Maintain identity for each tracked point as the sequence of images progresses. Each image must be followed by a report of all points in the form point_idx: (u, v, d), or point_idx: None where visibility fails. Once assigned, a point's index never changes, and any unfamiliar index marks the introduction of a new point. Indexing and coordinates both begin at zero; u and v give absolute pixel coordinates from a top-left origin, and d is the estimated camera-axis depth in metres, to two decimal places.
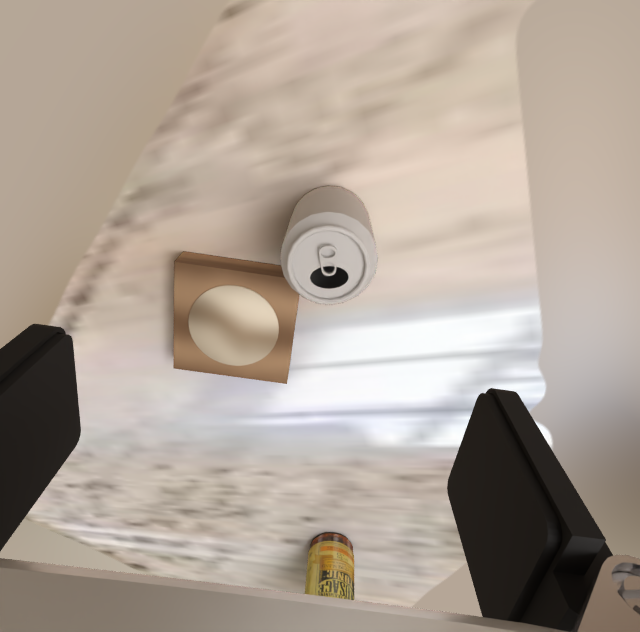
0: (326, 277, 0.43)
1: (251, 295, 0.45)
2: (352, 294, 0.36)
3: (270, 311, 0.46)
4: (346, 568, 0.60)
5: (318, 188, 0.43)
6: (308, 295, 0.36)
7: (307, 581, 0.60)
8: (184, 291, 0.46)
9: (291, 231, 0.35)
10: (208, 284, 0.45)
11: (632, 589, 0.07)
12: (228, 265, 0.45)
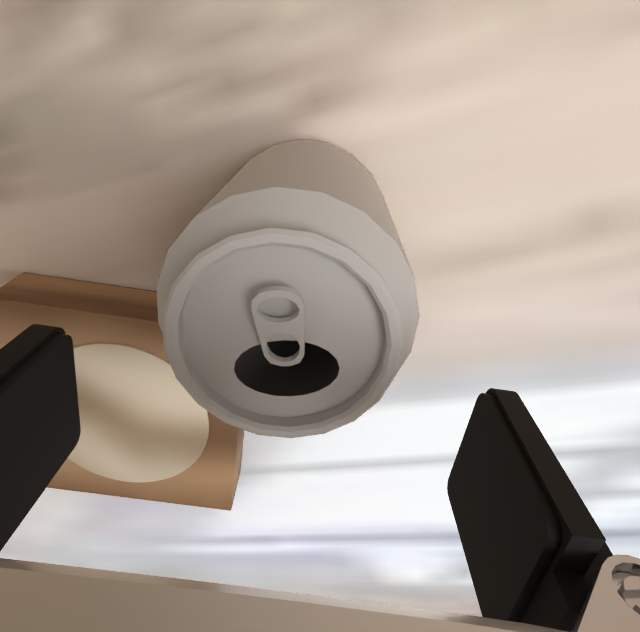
0: None
1: (149, 363, 0.23)
2: (349, 415, 0.13)
3: None
4: None
5: (278, 144, 0.20)
6: (230, 416, 0.13)
7: None
8: None
9: (177, 243, 0.12)
10: None
11: (632, 589, 0.06)
12: (102, 303, 0.23)
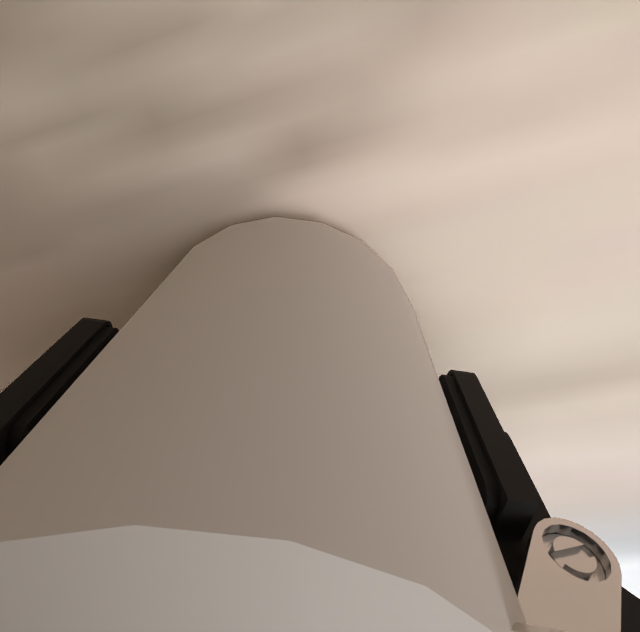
0: None
1: None
2: None
3: None
4: None
5: (237, 226, 0.12)
6: None
7: None
8: None
9: None
10: None
11: (561, 549, 0.07)
12: None
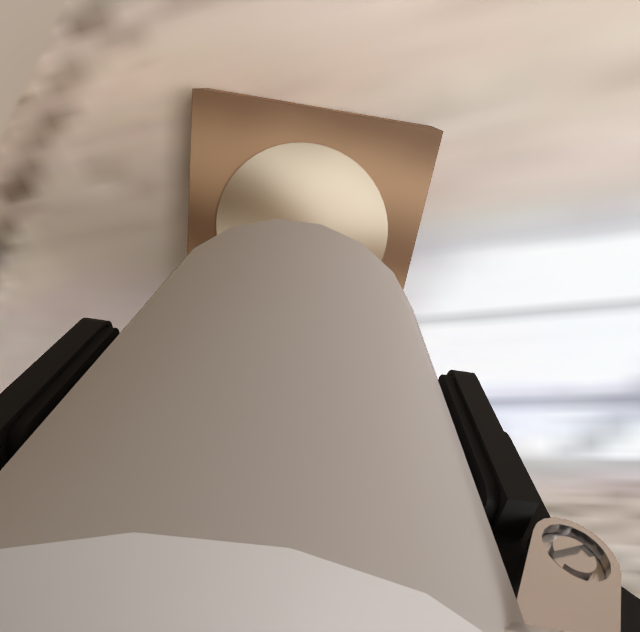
0: None
1: (342, 164, 0.23)
2: None
3: (376, 200, 0.24)
4: None
5: (237, 228, 0.12)
6: None
7: None
8: (211, 156, 0.23)
9: None
10: (259, 141, 0.23)
11: (560, 549, 0.07)
12: (297, 105, 0.23)
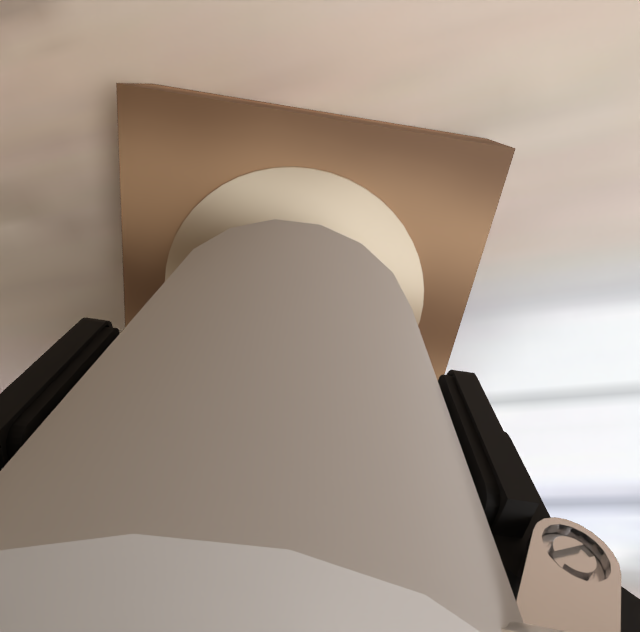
0: None
1: (355, 200, 0.15)
2: None
3: (407, 253, 0.16)
4: None
5: (237, 229, 0.12)
6: None
7: None
8: (152, 189, 0.15)
9: None
10: (225, 165, 0.15)
11: (561, 549, 0.07)
12: (285, 109, 0.15)
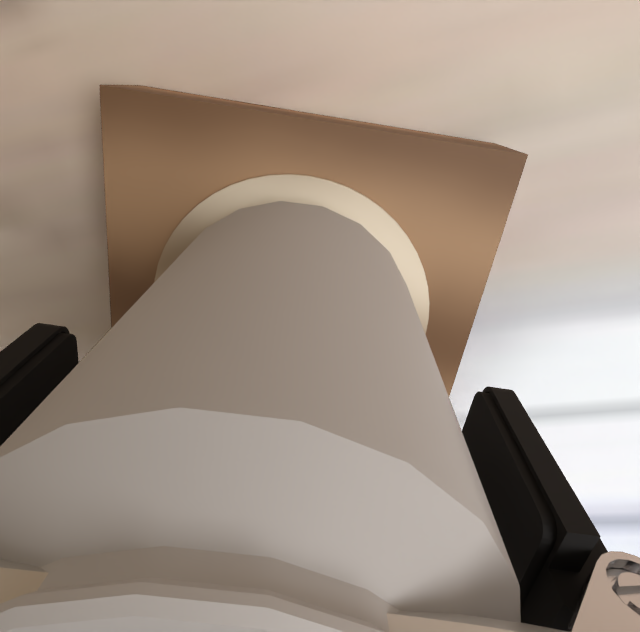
0: None
1: (356, 209, 0.14)
2: None
3: (411, 265, 0.15)
4: None
5: (245, 209, 0.13)
6: None
7: None
8: (139, 198, 0.14)
9: None
10: (217, 172, 0.14)
11: (626, 585, 0.07)
12: (281, 112, 0.14)
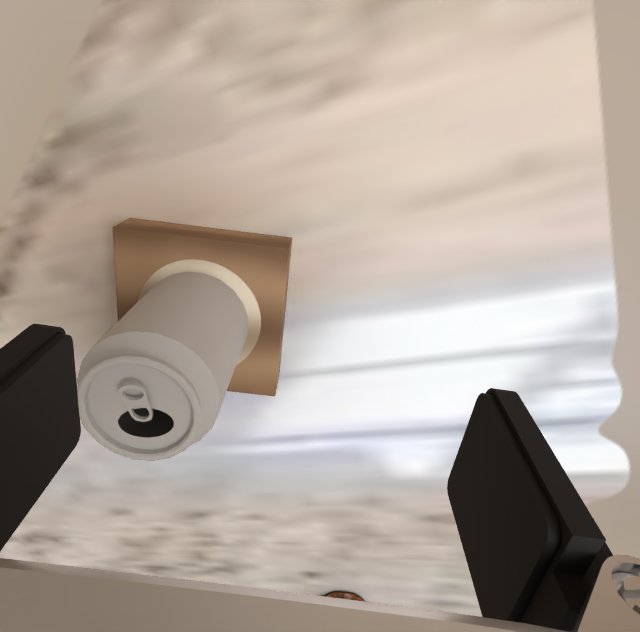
0: None
1: (221, 272, 0.33)
2: (180, 447, 0.24)
3: (248, 295, 0.34)
4: None
5: (171, 275, 0.32)
6: (117, 449, 0.24)
7: None
8: (129, 270, 0.33)
9: (86, 358, 0.24)
10: (162, 259, 0.33)
11: (632, 589, 0.07)
12: (188, 232, 0.33)
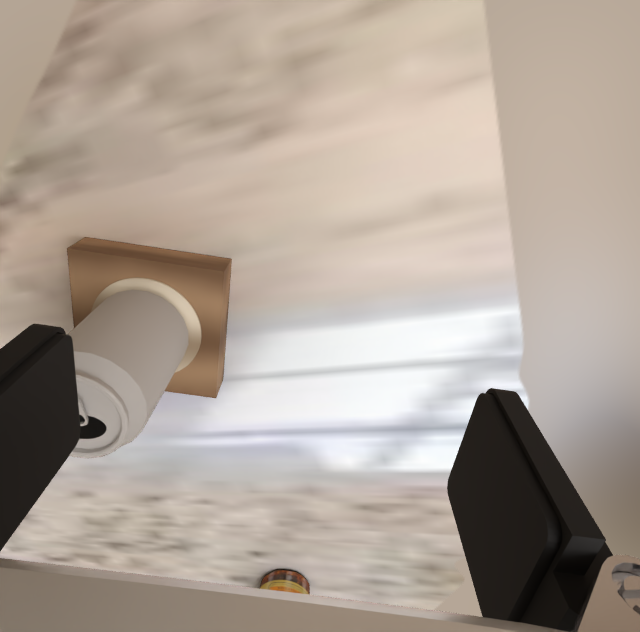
0: None
1: (164, 290, 0.37)
2: (111, 448, 0.29)
3: (189, 310, 0.38)
4: None
5: (119, 293, 0.36)
6: None
7: None
8: (83, 285, 0.37)
9: None
10: (111, 276, 0.37)
11: (632, 589, 0.06)
12: (136, 253, 0.37)
